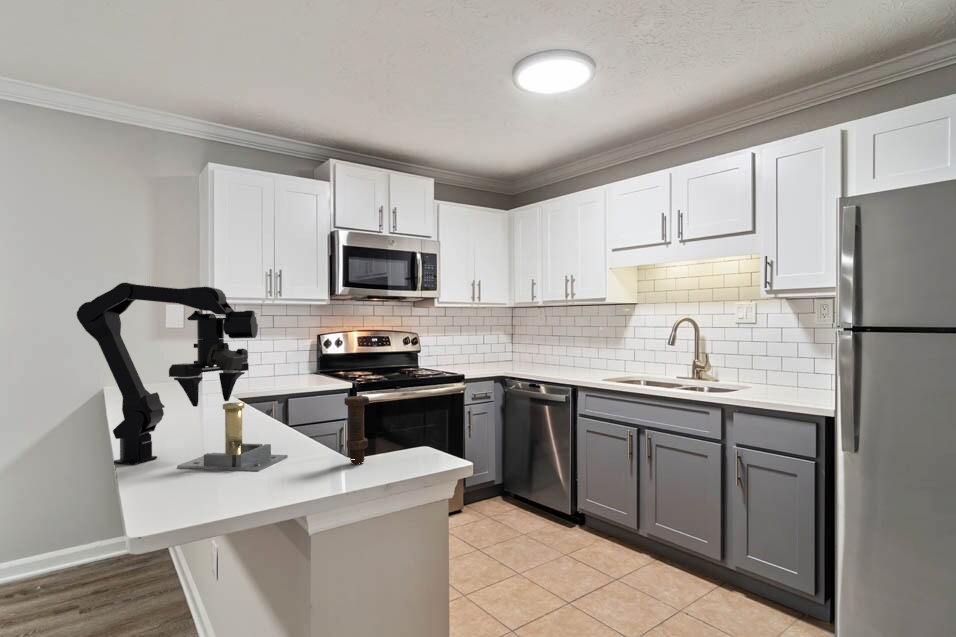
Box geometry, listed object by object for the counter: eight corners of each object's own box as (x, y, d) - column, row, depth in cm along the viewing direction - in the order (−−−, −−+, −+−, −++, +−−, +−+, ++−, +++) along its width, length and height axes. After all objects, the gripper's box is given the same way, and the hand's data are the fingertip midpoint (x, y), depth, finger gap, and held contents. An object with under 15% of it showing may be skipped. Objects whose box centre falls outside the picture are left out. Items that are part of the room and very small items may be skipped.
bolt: (373, 460, 122) (372, 395, 123) (366, 466, 117) (365, 398, 118) (348, 460, 123) (348, 395, 123) (341, 466, 118) (340, 398, 118)
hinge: (177, 468, 118) (177, 454, 118) (213, 455, 130) (213, 442, 130) (258, 471, 115) (258, 456, 115) (287, 457, 127) (287, 444, 127)
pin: (219, 462, 120) (219, 405, 120) (227, 457, 125) (227, 402, 125) (240, 462, 120) (239, 405, 120) (247, 457, 125) (247, 402, 125)
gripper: (203, 340, 116) (204, 411, 116) (265, 337, 134) (265, 399, 134) (166, 340, 120) (167, 409, 120) (231, 338, 138) (231, 398, 137)
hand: (211, 403), depth 128 cm, fingers open, 9 cm apart
